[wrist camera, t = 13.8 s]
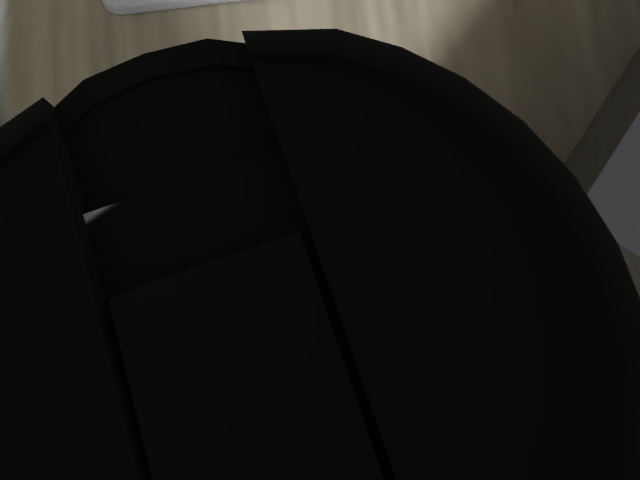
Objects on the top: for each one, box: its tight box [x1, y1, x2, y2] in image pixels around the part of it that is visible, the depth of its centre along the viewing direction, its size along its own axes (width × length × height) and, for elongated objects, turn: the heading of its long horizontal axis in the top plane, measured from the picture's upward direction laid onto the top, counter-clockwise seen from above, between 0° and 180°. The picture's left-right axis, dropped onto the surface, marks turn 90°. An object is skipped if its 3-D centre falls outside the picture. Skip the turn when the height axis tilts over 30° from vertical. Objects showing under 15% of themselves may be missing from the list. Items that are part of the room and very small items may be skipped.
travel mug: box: [0, 29, 640, 480], centre depth 14 cm, size 6×7×20 cm
